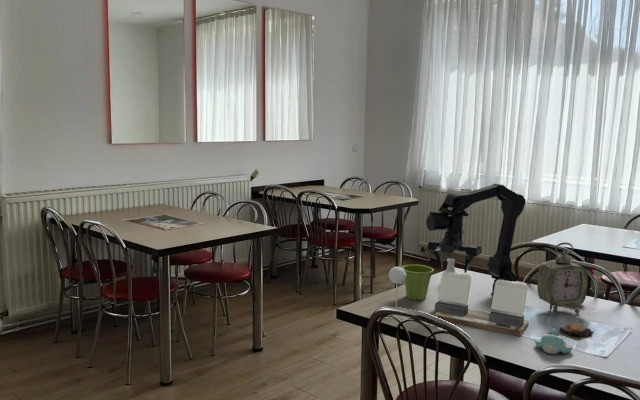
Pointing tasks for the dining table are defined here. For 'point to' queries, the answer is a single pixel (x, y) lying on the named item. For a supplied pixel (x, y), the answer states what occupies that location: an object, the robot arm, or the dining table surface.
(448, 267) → the flask
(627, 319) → the dining table surface
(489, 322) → the switch board
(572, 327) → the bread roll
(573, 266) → the tabletop clock
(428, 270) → the plant pot
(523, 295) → the toggle
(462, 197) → the robot arm
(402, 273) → the lollipop
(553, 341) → the stuffed animal
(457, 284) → the toggle
